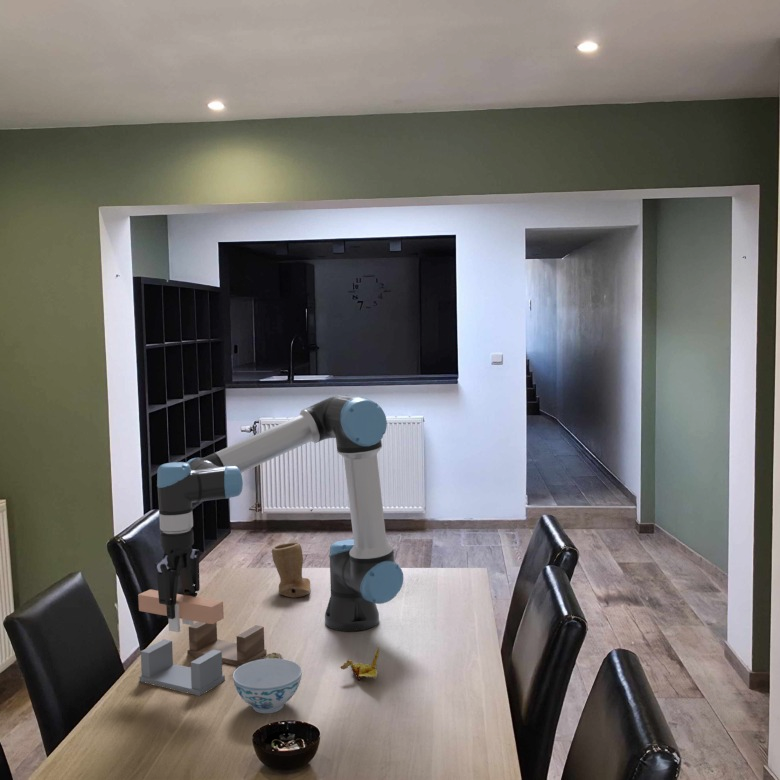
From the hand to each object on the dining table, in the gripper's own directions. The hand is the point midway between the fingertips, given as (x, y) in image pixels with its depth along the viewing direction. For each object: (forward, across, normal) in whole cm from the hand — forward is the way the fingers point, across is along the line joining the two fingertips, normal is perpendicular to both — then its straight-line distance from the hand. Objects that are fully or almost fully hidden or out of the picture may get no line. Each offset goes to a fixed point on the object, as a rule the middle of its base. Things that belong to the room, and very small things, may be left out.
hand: (181, 627), depth 193 cm
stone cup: (+14, -65, -12) cm, 67 cm away
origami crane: (+14, -19, +38) cm, 45 cm away
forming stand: (+13, 0, 0) cm, 13 cm away
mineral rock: (+14, -13, +14) cm, 24 cm away
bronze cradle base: (+13, -17, 0) cm, 21 cm away
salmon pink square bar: (-3, 0, 0) cm, 3 cm away
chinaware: (+13, +2, +26) cm, 29 cm away
